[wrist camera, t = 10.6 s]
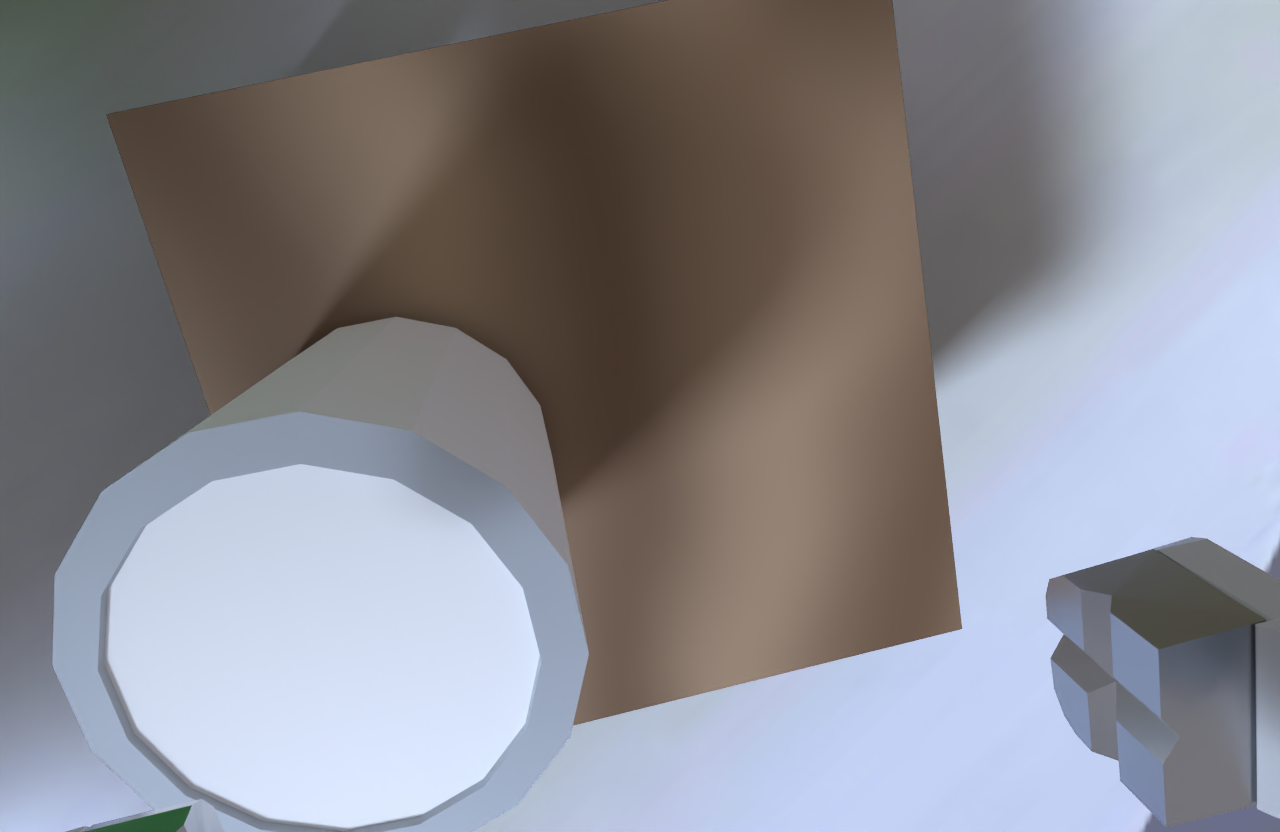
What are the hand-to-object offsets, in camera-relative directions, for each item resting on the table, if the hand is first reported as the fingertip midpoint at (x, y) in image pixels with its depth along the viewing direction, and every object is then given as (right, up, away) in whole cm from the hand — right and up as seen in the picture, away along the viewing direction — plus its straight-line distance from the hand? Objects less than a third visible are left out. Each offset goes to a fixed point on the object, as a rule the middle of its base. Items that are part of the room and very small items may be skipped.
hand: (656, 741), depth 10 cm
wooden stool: (-2, +6, +20) cm, 21 cm away
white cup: (-5, +2, +10) cm, 11 cm away
